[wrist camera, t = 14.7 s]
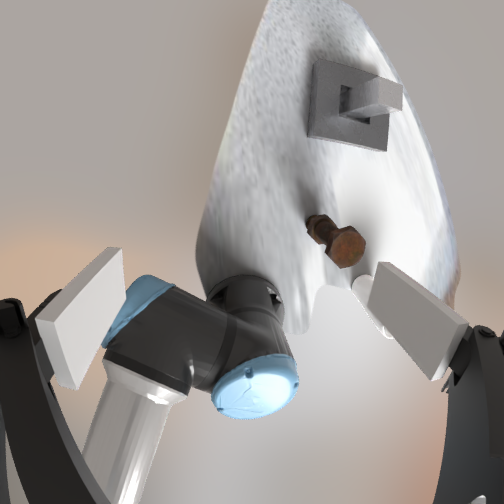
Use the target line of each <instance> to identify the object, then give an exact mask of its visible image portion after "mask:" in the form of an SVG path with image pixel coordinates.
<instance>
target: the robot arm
mask: <svg viewBox="0 0 504 504" xmlns="http://www.w3.org/2000/svg"><path fill="white" fill-rule="evenodd" d="M367 308H368V309H369V310H370V311H371V312H372V313H373V314H374V315H375V317H376V318H377V319H378V320H379V321H380V322H381V323H382V324H383V326H384V327H385V328H386V329H387V330H388V331H389V332H390V334H391V335H392V336H393V337H394V338H395V339H396V341H397V342H398V343H399V344H400V345H401V346H402V347H403V349H404V350H405V351H406V352H407V353H408V355H409V356H410V357H411V358H412V359H413V361H414V362H415V363H416V364H417V365H418V367H419V368H420V369H421V370H422V371H423V373H424V374H425V375H426V376H427V377H428V379H429V380H430V381H434V380H436V379H440V378H442V377H443V375H444V374H445V372H446V370H447V368H448V366H449V367H450V368H451V369H452V372H451V374H450V376H449V378H448V379H447V381H446V383H445V384H444V386H443V388H442V391H441V392H443V391H444V389H445V388H448V390H447V392H446V393H448V394H449V396H448V415H447V427H446V438H445V446H444V452H443V459H442V465H441V470H440V476H439V481H438V485H437V489H436V494H435V498H434V502H433V504H504V331H503V333H502V335H501V337H497V336H496V334H495V332H494V331H492V330H491V329H489V328H488V327H485V326H480V325H477V326H475V327H474V328H472V327H470V326H469V322H468V321H467V320H465V319H464V318H463V317H462V316H460V315H459V314H458V313H457V312H455V311H454V310H453V309H452V308H450V307H449V306H448V305H447V304H445V303H444V302H443V301H441V300H440V299H439V298H438V297H436V296H435V295H434V294H432V293H431V292H430V291H428V290H427V289H426V288H424V287H423V286H422V285H420V284H419V283H418V282H416V281H415V280H414V279H412V278H411V277H409V276H408V275H407V274H405V273H404V272H402V271H401V270H400V269H398V268H397V267H395V266H394V265H393V264H391V263H390V262H378V265H377V269H376V273H375V277H374V281H373V285H372V289H371V292H370V296H369V300H368V303H367ZM283 320H284V305H283V301H282V299H281V297H280V294H279V292H278V291H277V289H276V288H275V287H274V286H273V285H272V284H271V283H269V282H268V281H266V280H264V279H262V278H260V277H256V276H251V275H240V276H234V277H231V278H228V279H226V280H224V281H222V282H220V283H219V284H218V285H216V286H215V287H214V288H213V289H212V291H211V292H210V293H209V295H208V297H207V299H206V302H205V301H203V300H201V299H199V298H197V297H195V296H194V295H191V294H190V293H188V292H186V291H184V290H182V289H180V288H178V287H176V285H175V284H170V283H167V282H165V281H163V280H161V279H159V278H157V277H155V276H152V275H143V276H141V277H139V278H138V279H136V280H135V281H134V282H133V283H132V284H131V286H130V287H129V288H128V289H127V290H126V292H125V283H124V271H123V257H122V248H113V247H108V248H106V249H105V250H104V251H103V252H102V253H101V254H100V255H99V256H98V257H97V258H95V259H94V260H93V261H92V262H91V263H90V264H89V265H88V266H87V267H86V268H84V270H82V271H81V272H80V273H79V274H78V275H77V276H76V277H75V278H74V279H73V280H72V281H71V282H70V283H69V284H68V285H67V286H66V287H65V288H64V289H60V290H58V291H56V292H54V293H52V294H50V295H49V296H48V297H47V298H46V299H45V300H44V302H42V303H41V304H40V305H39V307H37V308H36V309H35V310H34V311H33V312H32V313H31V314H30V316H29V317H28V318H27V319H26V316H25V312H24V309H23V305H22V303H21V301H20V300H18V299H15V298H8V299H3V300H0V504H11V503H10V498H9V490H8V481H7V470H6V452H5V451H6V449H5V430H6V433H7V438H8V442H9V446H10V449H11V453H12V457H13V460H14V463H15V467H16V470H17V472H18V476H19V478H20V481H21V484H22V487H23V490H24V492H25V494H26V497H27V499H28V502H29V504H139V502H140V499H141V495H142V492H143V489H144V486H145V483H146V480H147V477H148V473H149V470H150V467H151V464H152V461H153V458H154V455H155V452H156V449H157V446H158V443H159V440H160V437H161V434H162V431H163V428H164V425H165V422H166V420H167V416H168V414H169V411H170V408H171V406H172V405H174V404H175V403H178V402H180V401H182V400H184V399H186V398H187V396H188V393H189V390H190V388H191V387H194V388H196V389H199V390H202V391H205V392H207V393H210V394H211V400H212V402H213V404H214V406H215V407H217V410H218V411H219V412H220V413H221V414H223V415H225V416H228V417H230V418H234V419H255V418H260V417H263V416H266V415H270V414H272V413H274V412H276V411H278V410H280V409H281V408H283V407H284V406H285V405H287V404H288V402H290V401H291V400H292V398H293V397H294V396H295V394H296V392H297V389H298V385H299V377H298V373H297V367H296V365H297V364H296V362H295V360H294V358H293V356H292V353H291V351H290V348H289V346H288V343H287V340H286V337H285V335H284V332H283V330H282V325H283ZM100 345H102V347H103V348H105V349H106V348H107V350H106V352H105V355H104V357H103V360H102V362H103V365H104V368H105V370H106V373H107V378H108V380H107V382H106V385H105V387H104V390H103V393H102V395H101V398H100V401H99V404H98V406H97V409H96V412H95V415H94V418H93V420H92V423H91V427H90V430H89V432H88V435H87V439H86V442H85V445H84V448H83V451H82V455H81V453H80V451H79V449H78V447H77V445H76V443H75V441H74V439H73V436H72V434H71V432H70V430H69V428H68V425H67V423H66V421H65V418H64V416H63V414H62V411H61V409H60V406H59V404H58V401H57V398H56V396H55V393H54V390H53V387H52V385H51V383H50V380H51V378H52V376H53V375H54V374H55V377H56V379H57V381H58V384H59V386H62V387H66V388H69V389H73V390H78V388H79V386H80V384H81V382H82V380H83V378H84V376H85V374H86V372H87V370H88V368H89V366H90V363H91V362H92V360H93V358H94V356H95V354H96V352H97V350H98V349H99V347H100Z"/></svg>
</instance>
